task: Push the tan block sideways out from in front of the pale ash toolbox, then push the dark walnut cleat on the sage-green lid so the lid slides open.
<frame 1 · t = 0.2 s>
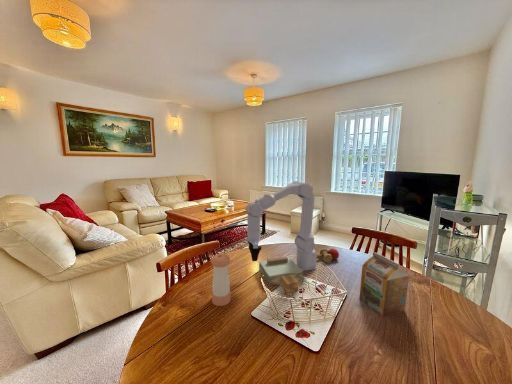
hand: (253, 256, 98), 10 cm above the table, tool pointing down, fingers open, 7 cm apart
tan block: (289, 283, 90), point 2 cm above the table, slide at 0.0 cm
lid: (279, 264, 100), point 5 cm above the table, slide at 0.0 cm
kendama: (322, 260, 117), on the table
toolbox: (279, 275, 101), on the table
milk carton: (381, 305, 81), on the table
salt shaker: (221, 300, 83), on the table
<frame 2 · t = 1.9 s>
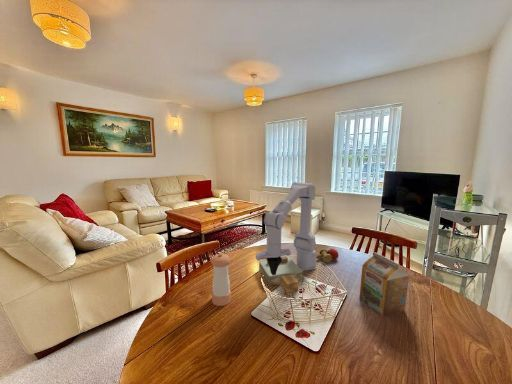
hand: (273, 273, 86), 8 cm above the table, tool pointing down, fingers closed
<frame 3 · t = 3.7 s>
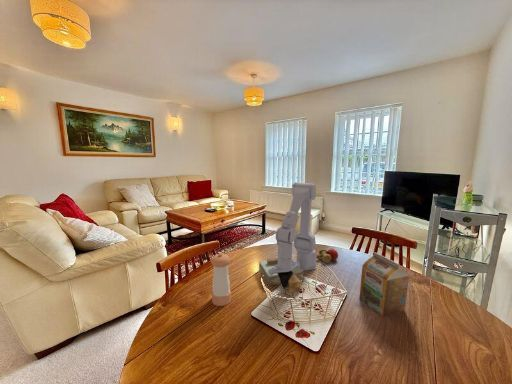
hand: (284, 286, 89), 2 cm above the table, tool pointing down, fingers closed
tan block: (291, 282, 91), point 2 cm above the table, slide at 1.1 cm, touching gripper
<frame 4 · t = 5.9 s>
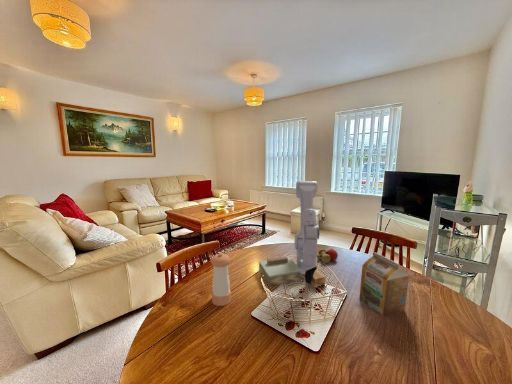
hand: (308, 282, 92), 2 cm above the table, tool pointing down, fingers closed
tan block: (316, 278, 94), point 2 cm above the table, slide at 12.9 cm, touching gripper
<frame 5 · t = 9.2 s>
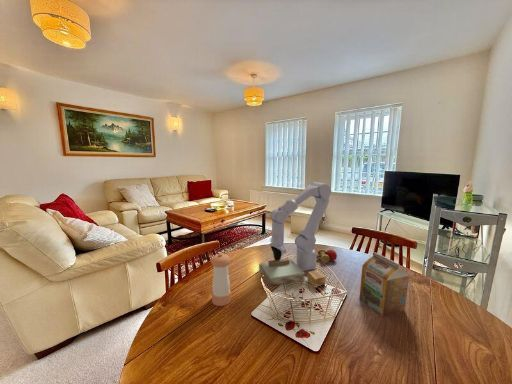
hand: (277, 261, 103), 5 cm above the table, tool pointing down, fingers closed
tan block: (316, 278, 94), point 2 cm above the table, slide at 13.0 cm
lid: (281, 266, 98), point 5 cm above the table, slide at 1.7 cm, touching gripper
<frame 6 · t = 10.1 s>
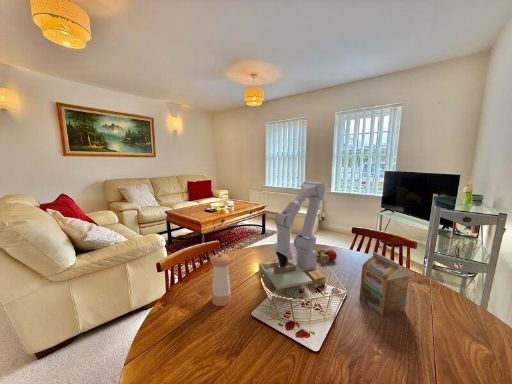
hand: (282, 267, 97), 6 cm above the table, tool pointing down, fingers closed
lid: (287, 273, 92), point 5 cm above the table, slide at 8.3 cm, touching gripper
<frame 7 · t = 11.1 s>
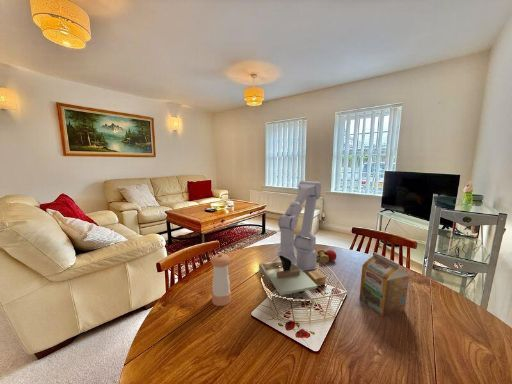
hand: (286, 271, 93), 6 cm above the table, tool pointing down, fingers closed
lid: (291, 278, 89), point 5 cm above the table, slide at 12.0 cm, touching gripper
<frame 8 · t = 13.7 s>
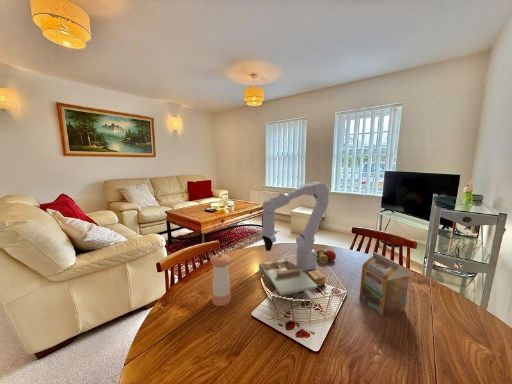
hand: (268, 250, 106), 9 cm above the table, tool pointing down, fingers closed
lid: (291, 278, 89), point 5 cm above the table, slide at 12.0 cm
at the end: lid slide at 12.0 cm; tan block slide at 13.0 cm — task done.
